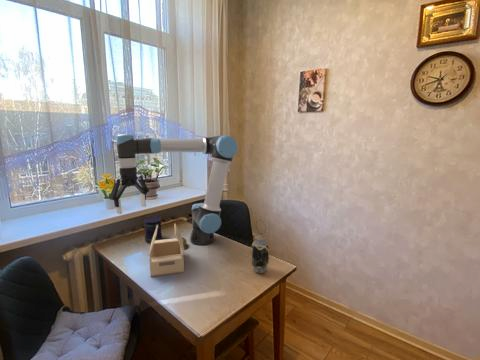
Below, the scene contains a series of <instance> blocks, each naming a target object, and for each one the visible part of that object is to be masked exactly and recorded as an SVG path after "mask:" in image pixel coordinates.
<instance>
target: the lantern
mask: <svg viewBox="0 0 480 360" xmlns="http://www.w3.org/2000/svg"><path fill="white" fill-rule="evenodd" d="M258 221H259V219H257V221H256V222H255V226H256V227H255V228H256V230H257V233H259V234H257V235H256V236H254V240H253V242H252V244H251V247H252V253H251V254H252V256H251V257H252V258H251V266H252V267H253V271H255V272H256V273H260V274H261V273H265V272H267V270H268V266H269V265H268V264H269V261H270V255H269V254H270V251H269V246H268V245H269V243H268V242H267V237H266V236H264V234H265V232H266V230H267V229H266V224H265V221H264V220H262V219H260V221H261V222H262V223H263V224H264V232H260V231H259V230H258V226H257V223H258Z"/></svg>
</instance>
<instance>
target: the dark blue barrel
mask: <svg viewBox="0 0 480 360" xmlns="http://www.w3.org/2000/svg"><path fill="white" fill-rule="evenodd" d="M143 222H144V223H143V227H144V233H145V234H144V242H145V243H146V244H150V245H151V241H152V238H153V235H154V232H155V229H156V226H157V225H158V228H157V235H156V239H155V240H163V235H162V234H163V233H162V219H161V217H158V216H152V217H146V218H144V220H143Z"/></svg>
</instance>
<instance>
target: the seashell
mask: <svg viewBox="0 0 480 360" xmlns="http://www.w3.org/2000/svg"><path fill="white" fill-rule="evenodd" d="M181 237H182V239H183V247H184V250H187V248H188V246H187V243H188V242H187V239H186V238H185V237H183V236H181Z"/></svg>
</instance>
